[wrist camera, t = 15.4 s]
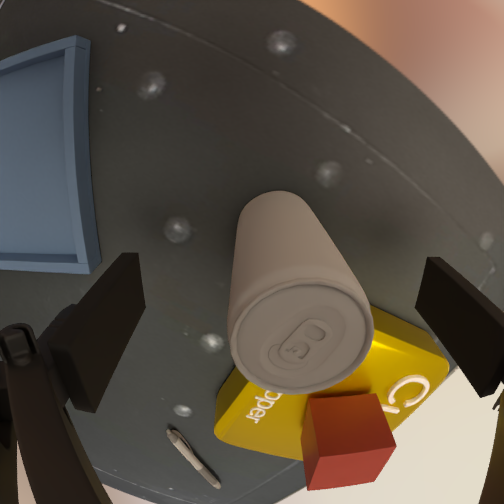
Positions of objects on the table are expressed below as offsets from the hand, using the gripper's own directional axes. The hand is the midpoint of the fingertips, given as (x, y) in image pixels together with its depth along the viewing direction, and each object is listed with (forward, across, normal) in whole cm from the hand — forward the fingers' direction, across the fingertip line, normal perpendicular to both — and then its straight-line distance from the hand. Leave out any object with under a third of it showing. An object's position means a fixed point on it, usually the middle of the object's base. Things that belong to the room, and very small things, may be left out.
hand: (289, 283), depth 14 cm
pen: (+8, -7, -27) cm, 29 cm away
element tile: (+8, +5, -13) cm, 16 cm away
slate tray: (+7, -19, +5) cm, 21 cm away
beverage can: (+8, 0, 0) cm, 8 cm away
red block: (+3, +5, -13) cm, 14 cm away
